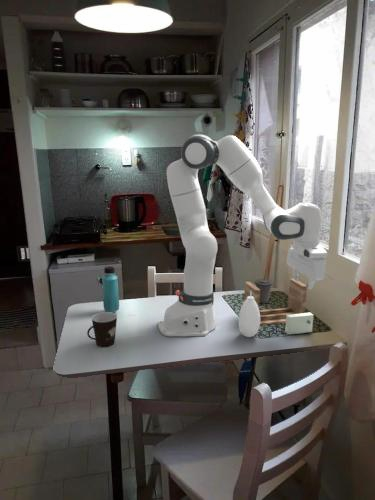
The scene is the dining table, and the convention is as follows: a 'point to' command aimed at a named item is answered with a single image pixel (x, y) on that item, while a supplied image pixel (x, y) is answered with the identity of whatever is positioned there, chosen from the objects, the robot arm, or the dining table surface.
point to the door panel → (299, 323)
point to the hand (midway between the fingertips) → (302, 284)
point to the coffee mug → (104, 328)
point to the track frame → (279, 315)
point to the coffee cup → (264, 289)
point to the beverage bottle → (110, 290)
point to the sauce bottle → (249, 317)
